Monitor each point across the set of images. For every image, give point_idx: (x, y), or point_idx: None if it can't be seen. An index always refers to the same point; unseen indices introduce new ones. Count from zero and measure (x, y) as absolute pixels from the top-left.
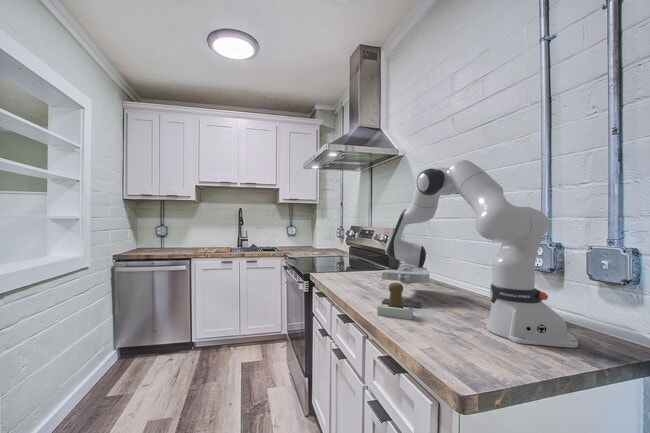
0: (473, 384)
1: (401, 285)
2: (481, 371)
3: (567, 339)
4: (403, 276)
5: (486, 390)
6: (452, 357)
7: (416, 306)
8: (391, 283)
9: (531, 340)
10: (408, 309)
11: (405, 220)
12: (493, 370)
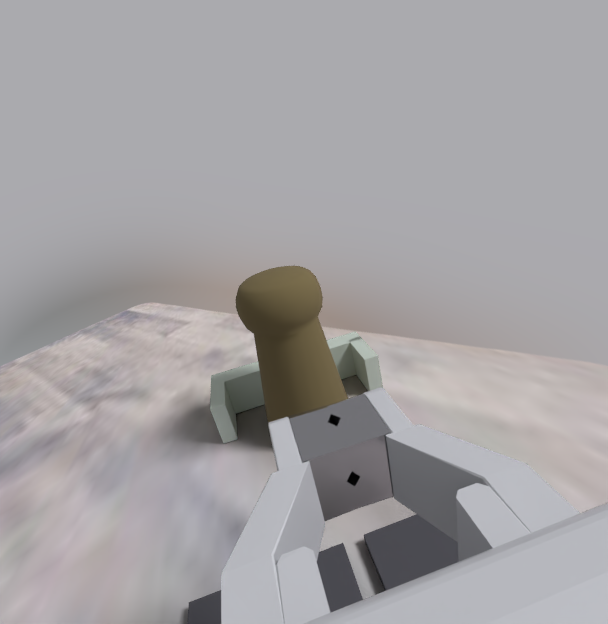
0: (124, 315)
1: (239, 286)
2: (98, 334)
3: None
4: (321, 418)
5: (112, 316)
6: (132, 334)
7: (218, 602)
8: (297, 267)
9: None
10: (227, 378)
11: None
12: (76, 343)
